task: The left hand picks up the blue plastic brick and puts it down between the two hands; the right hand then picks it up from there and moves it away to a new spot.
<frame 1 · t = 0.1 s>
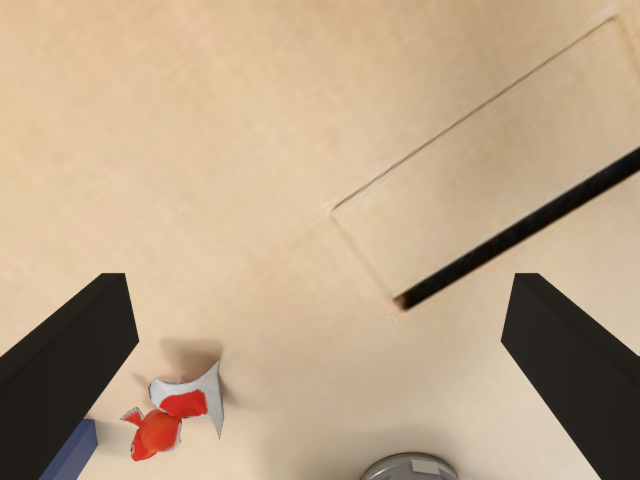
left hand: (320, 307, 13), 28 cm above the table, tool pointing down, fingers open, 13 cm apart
fish: (186, 384, 50), on the table
brick: (64, 430, 53), on the table
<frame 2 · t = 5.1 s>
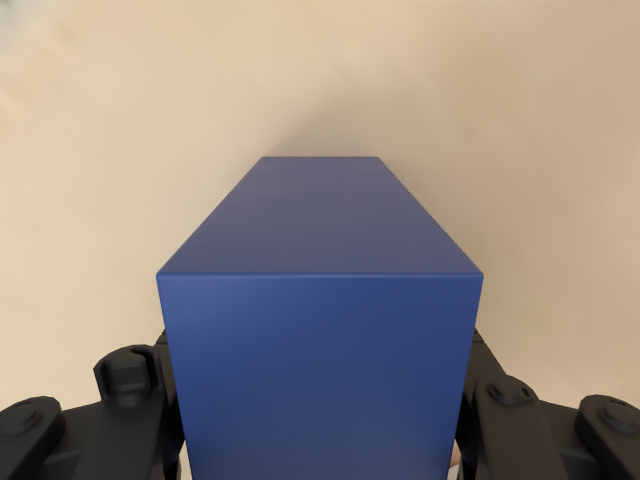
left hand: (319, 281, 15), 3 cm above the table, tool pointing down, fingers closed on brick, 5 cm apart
brick: (319, 251, 17), on the table, touching left hand
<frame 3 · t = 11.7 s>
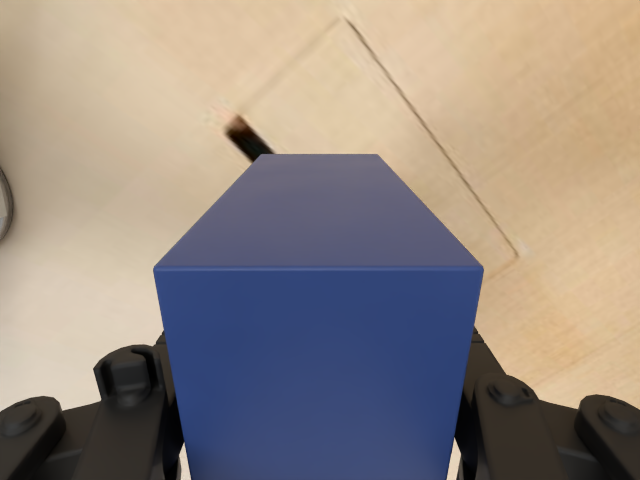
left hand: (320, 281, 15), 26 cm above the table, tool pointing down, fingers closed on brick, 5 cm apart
brick: (319, 249, 17), point 23 cm above the table, touching left hand
when the left hand's fingers open (5 cm above the table, at t = 18.7 s): brick drops 2 cm, on the table.
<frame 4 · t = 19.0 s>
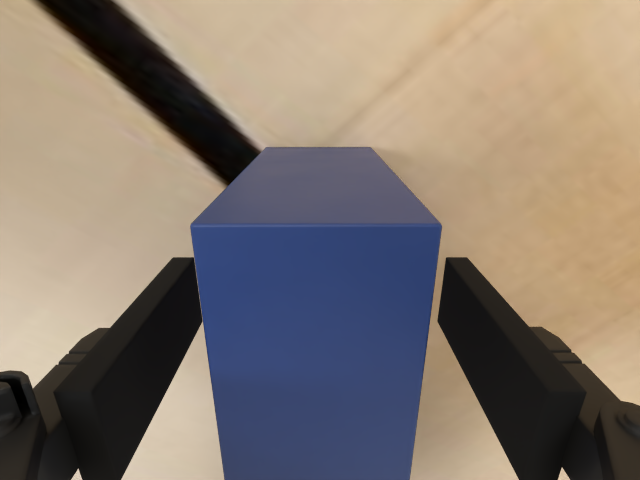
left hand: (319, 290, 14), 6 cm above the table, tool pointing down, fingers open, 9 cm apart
brick: (318, 234, 19), on the table
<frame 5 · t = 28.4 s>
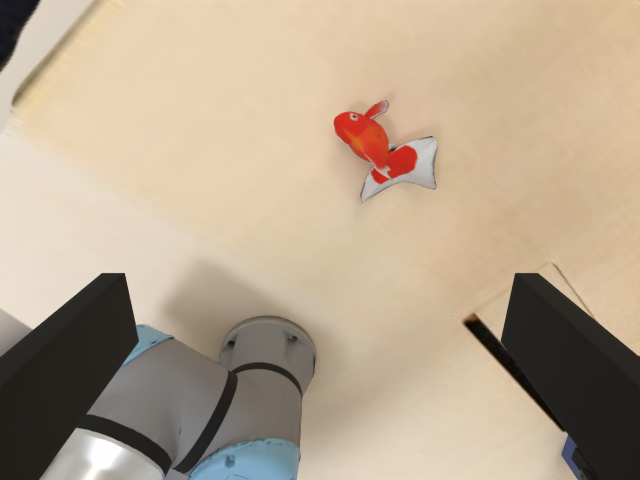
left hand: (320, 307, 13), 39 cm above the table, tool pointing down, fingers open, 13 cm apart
fish: (383, 150, 49), on the table
brick: (580, 438, 68), on the table, touching right hand
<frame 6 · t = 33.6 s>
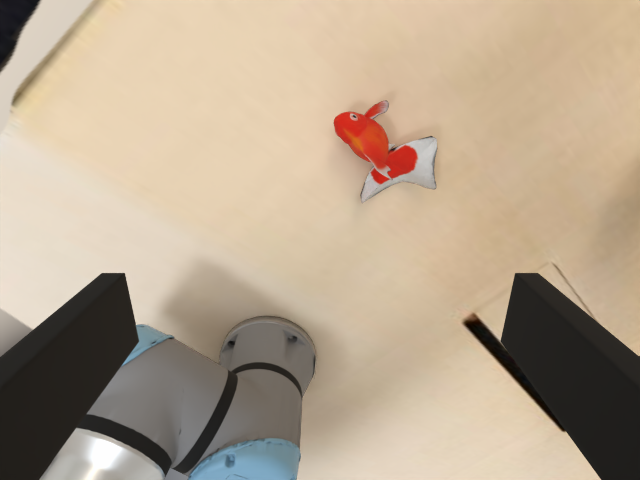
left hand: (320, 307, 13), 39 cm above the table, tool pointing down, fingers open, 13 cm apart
fish: (383, 150, 49), on the table
when the right hand's fingers open (5 cm above the table, at t = 39.0 s): brick drops 2 cm, on the table.
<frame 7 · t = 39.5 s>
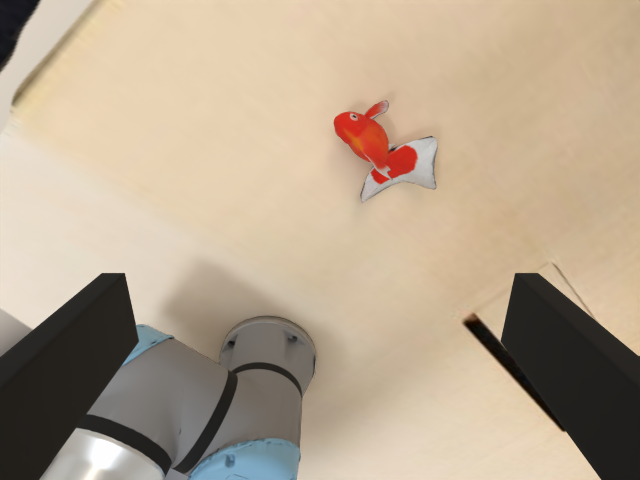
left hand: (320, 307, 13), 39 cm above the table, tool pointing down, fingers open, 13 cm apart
fish: (383, 150, 49), on the table
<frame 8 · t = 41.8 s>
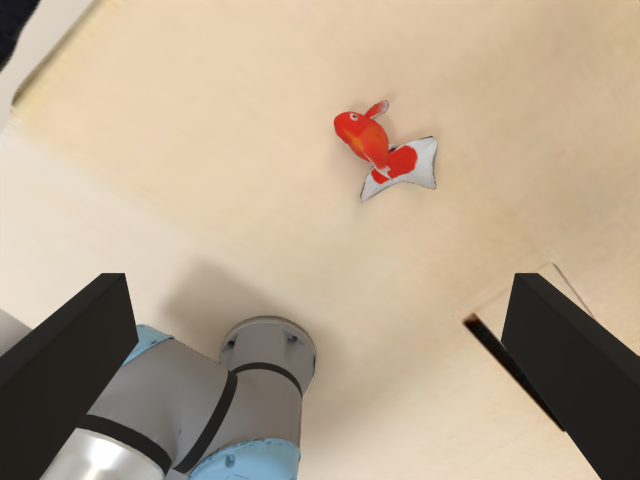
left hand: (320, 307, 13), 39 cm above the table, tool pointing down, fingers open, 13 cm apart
fish: (383, 150, 49), on the table
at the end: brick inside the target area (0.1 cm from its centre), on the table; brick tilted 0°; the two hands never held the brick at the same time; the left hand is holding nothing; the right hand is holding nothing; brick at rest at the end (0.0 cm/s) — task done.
